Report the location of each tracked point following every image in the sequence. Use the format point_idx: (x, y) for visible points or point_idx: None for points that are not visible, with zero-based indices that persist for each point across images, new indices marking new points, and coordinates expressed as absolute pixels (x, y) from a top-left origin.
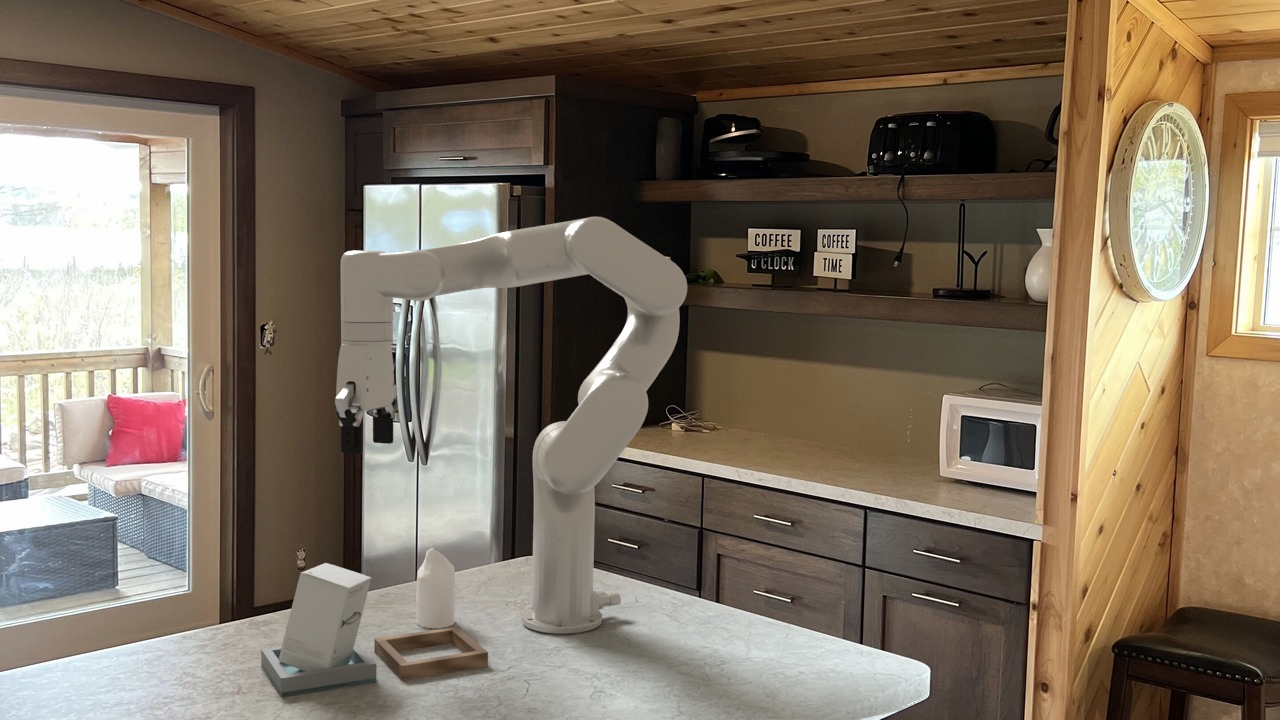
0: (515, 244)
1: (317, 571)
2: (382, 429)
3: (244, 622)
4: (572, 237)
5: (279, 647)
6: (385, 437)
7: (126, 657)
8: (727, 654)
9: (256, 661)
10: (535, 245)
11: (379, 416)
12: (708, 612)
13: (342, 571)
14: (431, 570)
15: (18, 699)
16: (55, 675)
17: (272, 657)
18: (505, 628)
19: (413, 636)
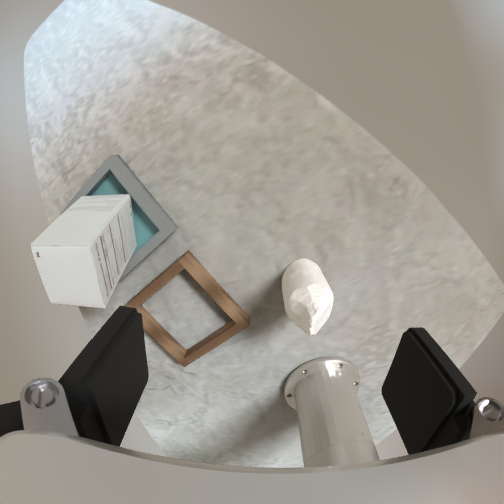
0: None
1: (48, 258)
2: (410, 401)
3: (254, 56)
4: None
5: (118, 171)
6: (394, 388)
7: (122, 21)
8: (263, 467)
9: (131, 140)
10: None
11: (448, 428)
12: None
13: (80, 278)
14: (294, 313)
15: (37, 32)
16: (78, 10)
17: (92, 181)
18: (296, 349)
19: (207, 292)
